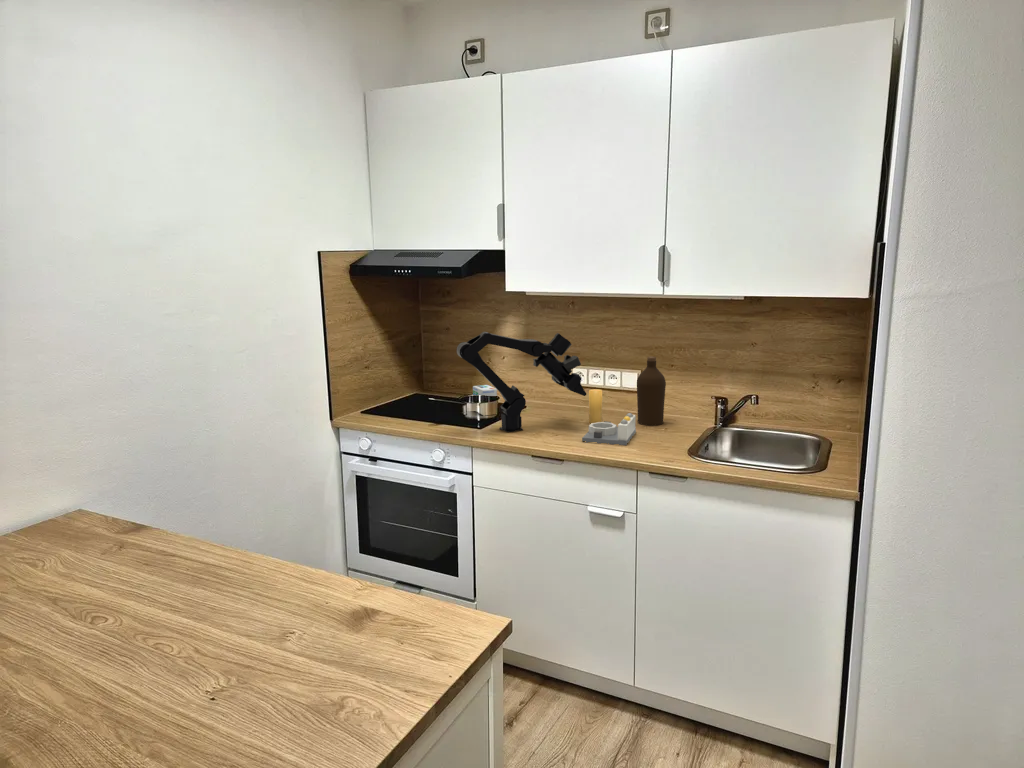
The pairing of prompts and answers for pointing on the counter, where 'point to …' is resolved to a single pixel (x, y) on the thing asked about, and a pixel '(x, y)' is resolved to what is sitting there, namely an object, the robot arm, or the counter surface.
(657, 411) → the olive oil
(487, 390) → the light bulb box
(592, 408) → the cap
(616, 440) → the ball rail dock
